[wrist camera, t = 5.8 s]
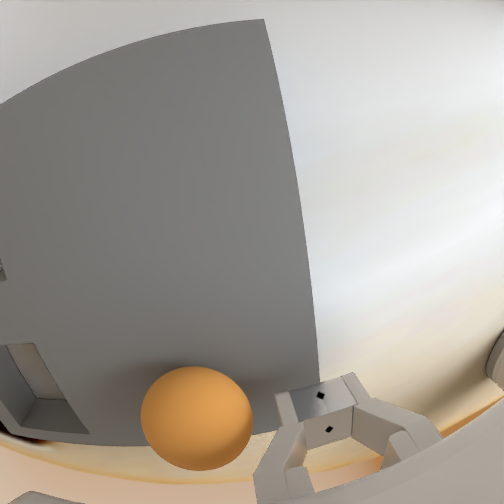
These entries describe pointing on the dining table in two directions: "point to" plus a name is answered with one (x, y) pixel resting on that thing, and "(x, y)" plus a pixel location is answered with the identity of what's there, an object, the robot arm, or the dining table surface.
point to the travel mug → (497, 363)
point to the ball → (196, 418)
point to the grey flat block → (152, 233)
